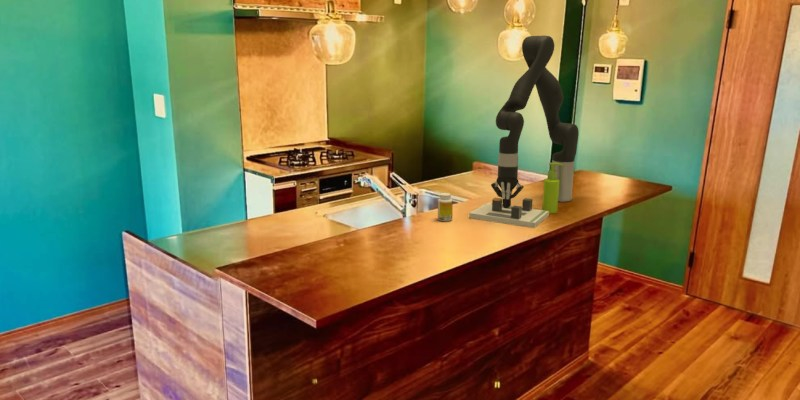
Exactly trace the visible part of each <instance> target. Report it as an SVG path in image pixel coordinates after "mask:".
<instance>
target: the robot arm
mask: <svg viewBox="0 0 800 400" xmlns="http://www.w3.org/2000/svg"><path fill="white" fill-rule="evenodd" d="M521 50H522V52H521V53H522V56H523V59H524V61H525V62H526V66H527V67H528V69H527V70H526V71H525V72H524V73H523V74H522V75H521V76H520V77H519V78H518V79H517V80H516V82H515V83H514V85H513V87H512V89H511V91H510V95H509V97H508V99H507V100H506V102H505V103H504V105H503V106H502V107H501V108H500V109H499V111H498V113H497V115H496V117H495V126H496V127H497V129H499V130H501V131H509V133H508V135H507V136H502V137H501V138H500V139H499V143H498V144H499V147H498V148H499V149H498V150H499V151H498V152H499V153H498V157H497V160H498V161H497V178H496V181H494V182H493V183H490V186H491V188H492V190H493V191H494V192H495V193H496V195H497V198H502V205H503V207H504V208H507V209H508V208H509V207H510V206H512V204H511V203H512V202H511V201H512V199H515V198H516V197H517V196H518V195H519V194H520V192H521V191H523V189H524V185H521V183H520V182H519V179H518V175H519V141H520V137H521V134H522V131H523V128H524V124H525V119H524V117H523V115H522V114H521V113H520V112H518V111H520V110H521V111H522V110H524V109H525V108H526V106H527V104H528V101H529V99H530V98H531V97H530V96H531V94H532V92H533V90H534V88H535V87H536V91H537V94H538V98H539V101H540V104H541V106H542V110H543V113H544V117H545V120H546V125H547V131H548V135H549V136H548V137H549V139H550V141H551V142H552V143H553V144H556V145H562V146H563V149H562V150H561V151H558V152H557V151H556V152H554V153H553V154H552V157H551V159H552V160H551V161H552V162H551V163H561V164H563V166H561V165H555V171H557V176H556V179H558V180H559V194H558V202H570V201H572V196H573V184H574V172H575V158H576V155H577V151H578V150H577V149H578V141H579V127H578V125H577V124H574V123H568V122H567V123H566V122H562V121H561V120H560V116H559V111H560V109H561V108H562V104H563V103H564V93H563V90H562V87H561V86H562V85H561V84H560V81H559V80H558V79H557V78H556V76H554V74H553V73H552V72H551V71H550V70H549V69H548V68H547V65H548V64H549V62H550V60H551V59H552V58H553V57H552V56H553V54H554V51H555V41H554V38H552V37H551V36H550V35H530V36H525V38H524V39H523V41H522V43H521ZM514 189H515V191H514V192H513V190H514Z"/></svg>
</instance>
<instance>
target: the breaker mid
mask: <svg viewBox="0 0 800 400" xmlns="http://www.w3.org/2000/svg"><path fill="white" fill-rule="evenodd" d="M491 201H492V202H491V203H492V210H495V211H500V210H502V204H503V199H502V198H501V197H494V198H492V200H491Z"/></svg>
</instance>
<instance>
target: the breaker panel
mask: <svg viewBox="0 0 800 400" xmlns="http://www.w3.org/2000/svg"><path fill="white" fill-rule="evenodd" d="M513 206H514V205H513ZM513 206H512V205H511V206H510V207H509V208H508V209H507V208H504V207H503V205H502V210H500V211H495V210H492V202H491V203H490V202H486V203H484V204H482V205H481V206H479V207H476V209H474V210H472V211H470V212H469V213H468V215H469V217H468V218H469V219H472V220H473V219H474V220H481V221H486V222H492V223H500V224H506V225H514V226H520V227H527V228H533V229H536V227H537V226H539V225H540V224H541V223H542V222H544V221H545V220H546V219H547V218H548V217H549V214H550V213H549V211H544V210H542V209H536V208H532V209H531V210H530V211H529V210H522V214H521V217H520V218H519V219H517V218H511V207H513Z"/></svg>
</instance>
